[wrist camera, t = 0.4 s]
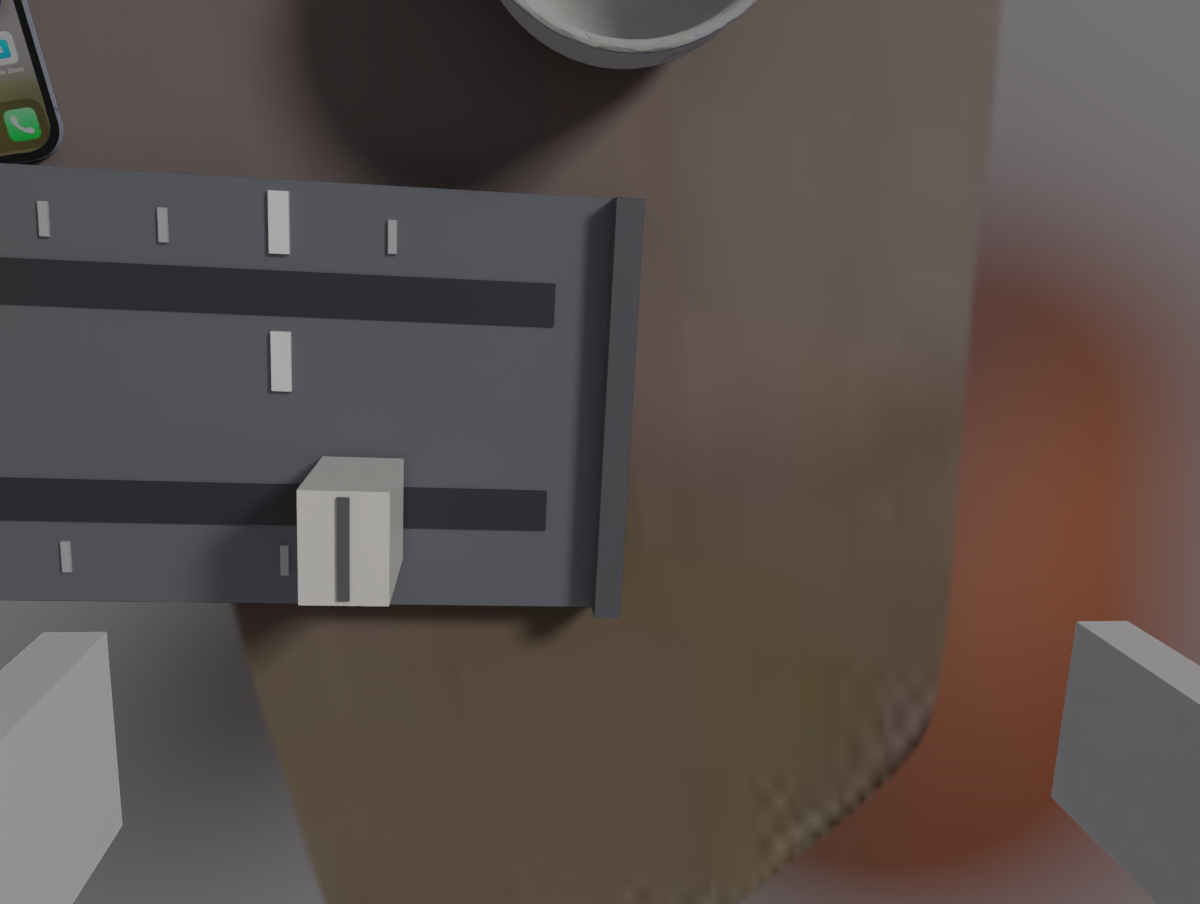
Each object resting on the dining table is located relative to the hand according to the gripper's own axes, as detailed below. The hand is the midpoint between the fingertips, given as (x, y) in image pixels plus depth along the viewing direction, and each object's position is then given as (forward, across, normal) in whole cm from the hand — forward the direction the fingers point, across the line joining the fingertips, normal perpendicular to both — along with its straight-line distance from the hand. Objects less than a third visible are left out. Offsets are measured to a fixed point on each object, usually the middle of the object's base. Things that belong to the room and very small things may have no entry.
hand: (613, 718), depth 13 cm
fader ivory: (+25, -7, -4) cm, 26 cm away
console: (+27, -12, 0) cm, 30 cm away
